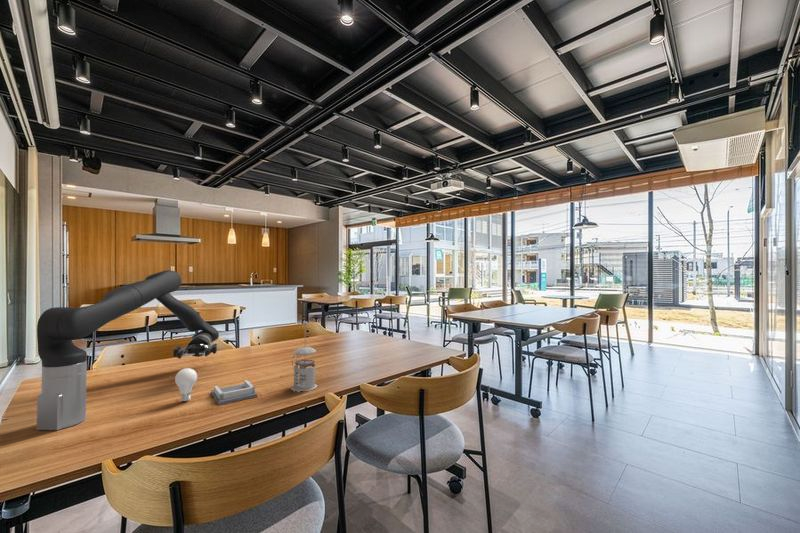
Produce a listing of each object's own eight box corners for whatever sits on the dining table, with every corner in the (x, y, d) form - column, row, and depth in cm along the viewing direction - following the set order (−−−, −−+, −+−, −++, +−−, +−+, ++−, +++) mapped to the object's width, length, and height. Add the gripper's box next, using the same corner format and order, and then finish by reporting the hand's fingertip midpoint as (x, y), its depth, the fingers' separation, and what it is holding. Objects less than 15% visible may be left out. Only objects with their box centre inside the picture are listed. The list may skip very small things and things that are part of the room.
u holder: (257, 396, 119) (257, 388, 119) (219, 405, 112) (219, 395, 112) (246, 386, 130) (246, 378, 130) (211, 392, 123) (211, 384, 123)
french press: (301, 394, 122) (302, 324, 122) (282, 387, 129) (283, 321, 129) (323, 386, 130) (324, 321, 130) (304, 380, 137) (304, 318, 137)
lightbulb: (189, 405, 111) (189, 371, 112) (170, 404, 112) (170, 371, 112) (200, 397, 118) (201, 366, 118) (182, 397, 118) (183, 365, 118)
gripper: (179, 337, 138) (170, 346, 123) (219, 334, 143) (214, 343, 128) (179, 355, 138) (169, 367, 123) (219, 352, 143) (214, 362, 128)
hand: (192, 354), depth 125 cm, fingers open, 8 cm apart
